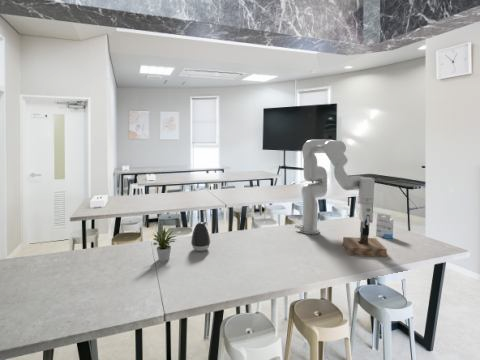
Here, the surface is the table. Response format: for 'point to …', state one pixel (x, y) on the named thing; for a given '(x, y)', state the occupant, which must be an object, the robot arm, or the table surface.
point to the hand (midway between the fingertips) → (364, 233)
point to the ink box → (384, 226)
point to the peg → (363, 237)
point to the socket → (364, 247)
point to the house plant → (163, 245)
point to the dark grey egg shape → (200, 237)
